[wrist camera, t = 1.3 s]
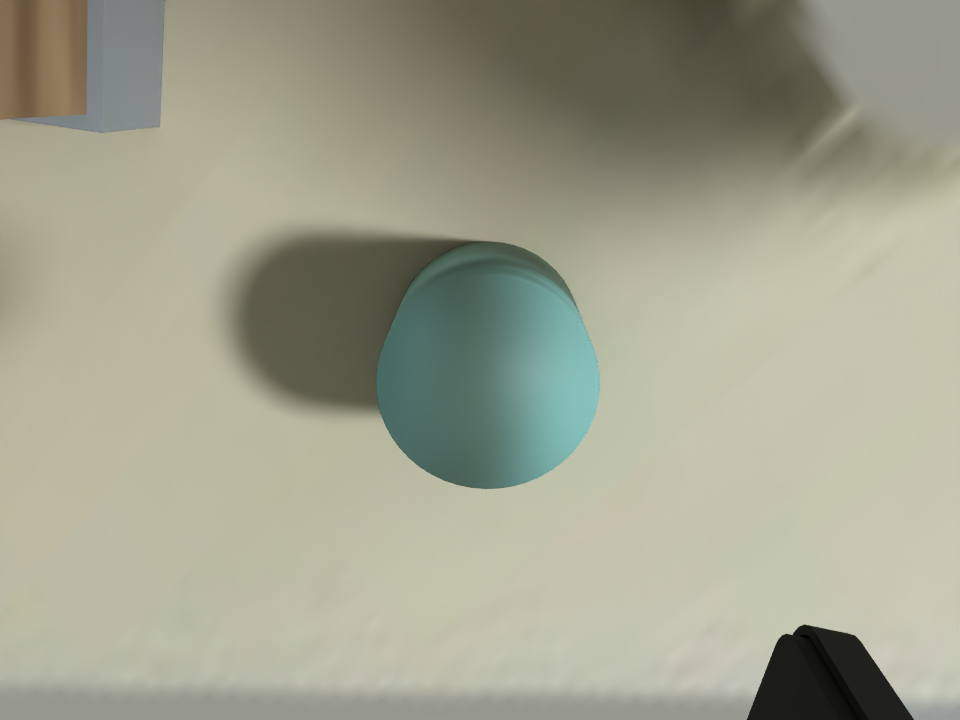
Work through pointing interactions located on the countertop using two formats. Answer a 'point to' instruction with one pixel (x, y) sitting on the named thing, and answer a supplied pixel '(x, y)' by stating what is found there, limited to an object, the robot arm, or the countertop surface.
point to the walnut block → (43, 58)
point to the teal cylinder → (488, 368)
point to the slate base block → (120, 68)
